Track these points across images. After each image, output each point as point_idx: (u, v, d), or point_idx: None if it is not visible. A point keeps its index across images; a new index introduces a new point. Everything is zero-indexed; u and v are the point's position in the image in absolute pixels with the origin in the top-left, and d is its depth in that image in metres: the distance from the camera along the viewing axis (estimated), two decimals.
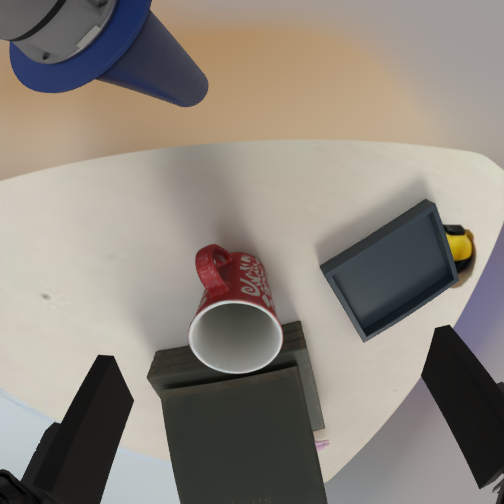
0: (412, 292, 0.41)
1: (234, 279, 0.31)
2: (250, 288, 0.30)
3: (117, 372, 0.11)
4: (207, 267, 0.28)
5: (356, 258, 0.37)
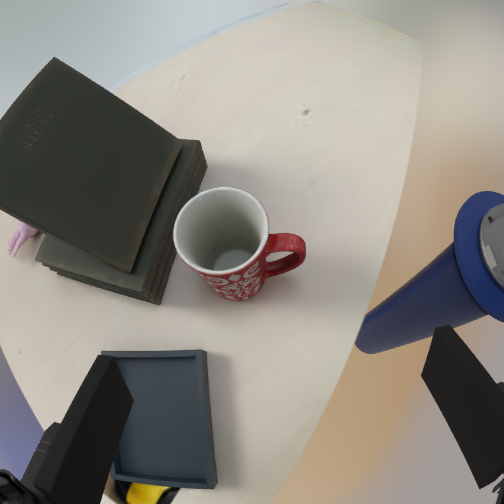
0: None
1: (262, 264, 0.32)
2: (252, 271, 0.30)
3: (116, 372, 0.11)
4: (297, 245, 0.29)
5: (199, 388, 0.33)
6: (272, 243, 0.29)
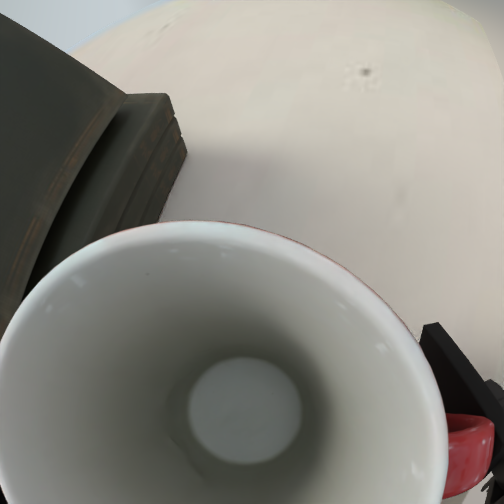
0: None
1: None
2: None
3: None
4: (487, 464, 0.04)
5: None
6: None
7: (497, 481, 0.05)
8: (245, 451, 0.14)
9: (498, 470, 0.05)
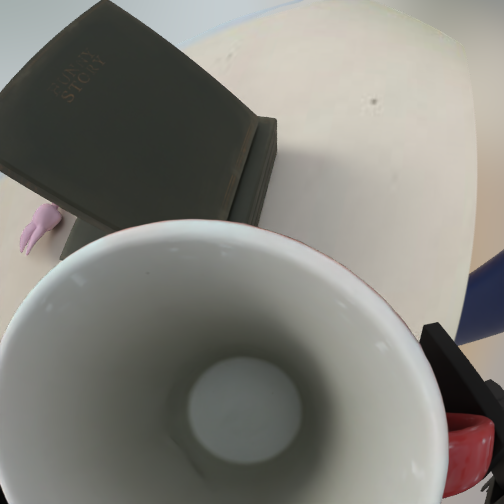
0: None
1: None
2: None
3: None
4: (488, 463, 0.04)
5: None
6: None
7: (496, 481, 0.05)
8: (245, 451, 0.14)
9: (498, 470, 0.05)
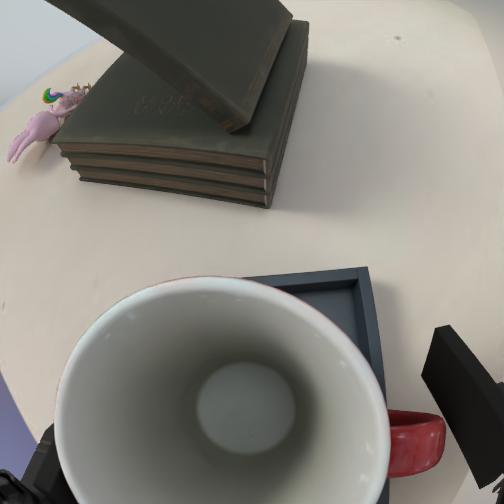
0: None
1: None
2: None
3: None
4: (438, 452, 0.07)
5: (372, 336, 0.18)
6: None
7: None
8: (246, 443, 0.16)
9: None
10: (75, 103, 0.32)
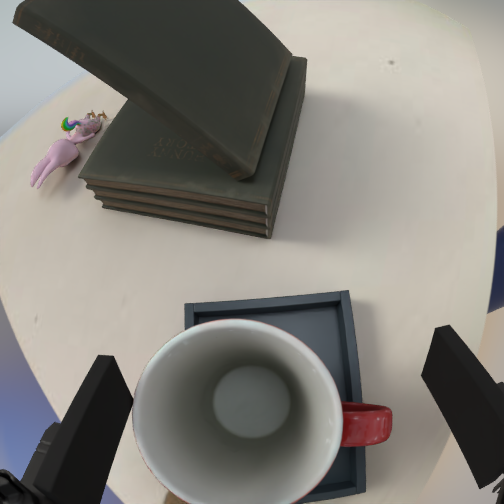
0: None
1: None
2: None
3: (116, 372, 0.11)
4: (384, 432, 0.12)
5: (350, 346, 0.23)
6: None
7: None
8: (252, 429, 0.21)
9: None
10: (91, 130, 0.37)
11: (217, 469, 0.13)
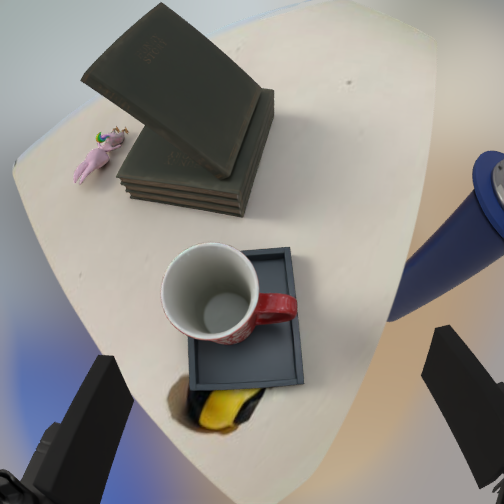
0: None
1: (252, 320, 0.30)
2: (241, 330, 0.29)
3: (116, 372, 0.11)
4: (288, 306, 0.28)
5: (289, 280, 0.39)
6: (262, 304, 0.28)
7: None
8: None
9: None
10: (117, 142, 0.52)
11: None
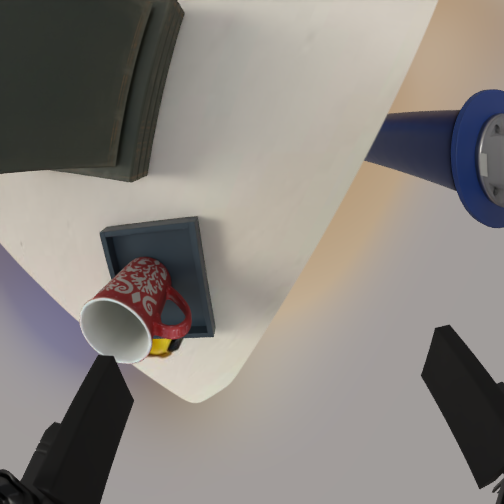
0: None
1: None
2: None
3: (116, 372, 0.11)
4: (179, 335, 0.33)
5: (195, 256, 0.40)
6: (158, 333, 0.33)
7: None
8: None
9: None
10: None
11: (122, 335, 0.36)
